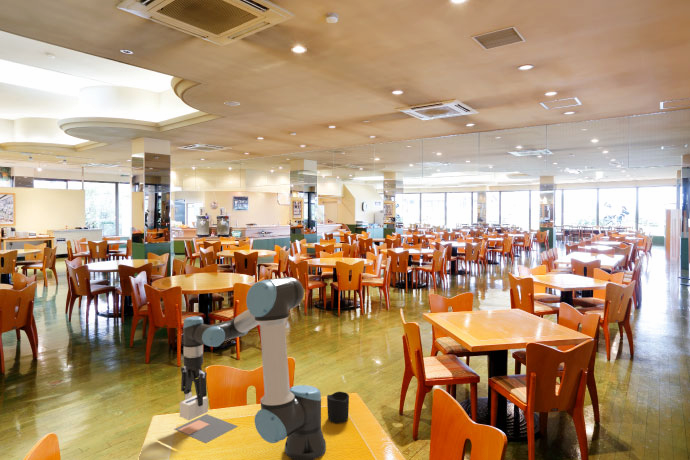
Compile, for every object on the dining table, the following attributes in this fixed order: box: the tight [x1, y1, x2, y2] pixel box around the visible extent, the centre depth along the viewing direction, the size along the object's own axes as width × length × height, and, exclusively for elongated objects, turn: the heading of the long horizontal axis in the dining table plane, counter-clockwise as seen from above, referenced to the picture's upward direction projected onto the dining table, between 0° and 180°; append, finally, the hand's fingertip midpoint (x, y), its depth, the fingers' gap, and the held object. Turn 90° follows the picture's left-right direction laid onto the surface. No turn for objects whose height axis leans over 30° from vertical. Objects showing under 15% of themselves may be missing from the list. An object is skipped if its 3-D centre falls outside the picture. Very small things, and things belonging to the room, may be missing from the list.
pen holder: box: [326, 391, 350, 424], centre depth 180 cm, size 9×9×10 cm
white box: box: [179, 394, 209, 421], centre depth 172 cm, size 9×6×6 cm, turn 146°
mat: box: [174, 413, 239, 444], centre depth 172 cm, size 20×16×1 cm
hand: (193, 411), depth 172 cm, fingers closed on white box, 6 cm apart
